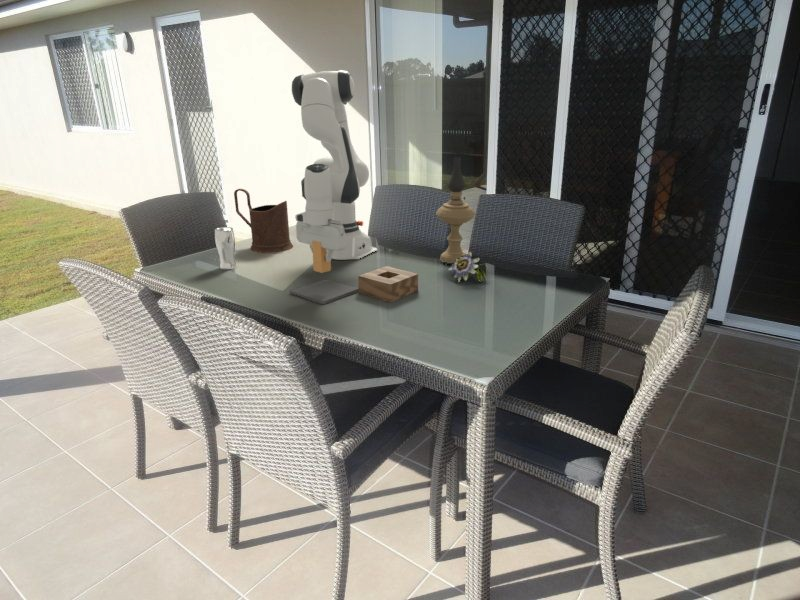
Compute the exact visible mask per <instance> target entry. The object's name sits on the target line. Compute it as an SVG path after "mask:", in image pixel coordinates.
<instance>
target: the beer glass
mask: <svg viewBox="0 0 800 600" xmlns="http://www.w3.org/2000/svg"><path fill="white" fill-rule="evenodd" d="M214 241H215V245H216V249H217V253H218V256H219V261H220V262H219V264H220V265H219V268H220V270H225V271H226V270H234V269H236V268H237V262H236V259H235V250H236V241H235V233H234V228H233V227H230V226H229V227H226V226H223V227H222V226H221V227H216V228H215V229H214Z"/></svg>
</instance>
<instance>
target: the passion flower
mask: <svg viewBox="0 0 800 600" xmlns="http://www.w3.org/2000/svg"><path fill="white" fill-rule="evenodd" d="M466 254H467V255H466ZM466 254H465V255H461V257H460V256H459V257H457V259H456V260H455V261H456V262H455V263H454V264H452V265H451V266H450V267H448V268H447V271H449V272H452V273H453V274H454V275H453V279H457V280H459V281H460V280H461V281H462V280H464V281H468V280H469V275H471V274H472V275H475V276H476V279H477V281H478V282H479V280H480V281H482V282H483V279H484V280H486V273H485V271H484V270H483V269H482V268H481V267H480V266H482V265H484V268H485V270H488V266H487V263H486V262H485V263H482V264H476V263H478V262H479V261H480V258H479V257H475V258H472V256H473V253H472V251H469V252H468V253H466ZM461 281H460V282H461Z"/></svg>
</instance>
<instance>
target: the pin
mask: <svg viewBox="0 0 800 600" xmlns="http://www.w3.org/2000/svg"><path fill="white" fill-rule="evenodd" d="M312 248H313V253H312V262H313V265H312V266H313V272H314V271H315V272H317V273H321V274H323V273H326V272H330V271H332V262H331V261H332V260H331V261H330V262H326V261H324V256H326V254H327V252H326V248H322V247H321V242H317V241H312Z"/></svg>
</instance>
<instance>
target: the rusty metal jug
mask: <svg viewBox="0 0 800 600" xmlns="http://www.w3.org/2000/svg"><path fill="white" fill-rule="evenodd" d="M240 191H241V192H242V193H244V194H245V195H246V200H247V206H248V211H249V220H248V219H247V218H246V217H245V216H244V215H243V214H242V213H241V211H240V210H239V209H240V208H239V201H238V192H240ZM233 195H234V196H233V197H234V204H235V212H236V214H237V215H238V216H239V217H240V218H241V219H242V220H243V221H244V222H245V223H246V225H248V227H250V230H251V240H252V242H251V245H250V247H249V249H250V251H252V252H254V253H258V254H259V253H260V254H275V253H276V254H277V253H282V252H286V251H290V250H291V249H293V248H294V245H293V243H292V242H291V241H292V240H291V239H290V229H289V228H290V227H289V214H288V213H289V212H288V201H287V200H284V201H282V202H280V203H278V204H266V205H265V204H264V205H261V206H256V207H253V208H252V205H251V196H250V193H249V191H248V190H246V189H244V188H237V189H236V190H234V191H233Z"/></svg>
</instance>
